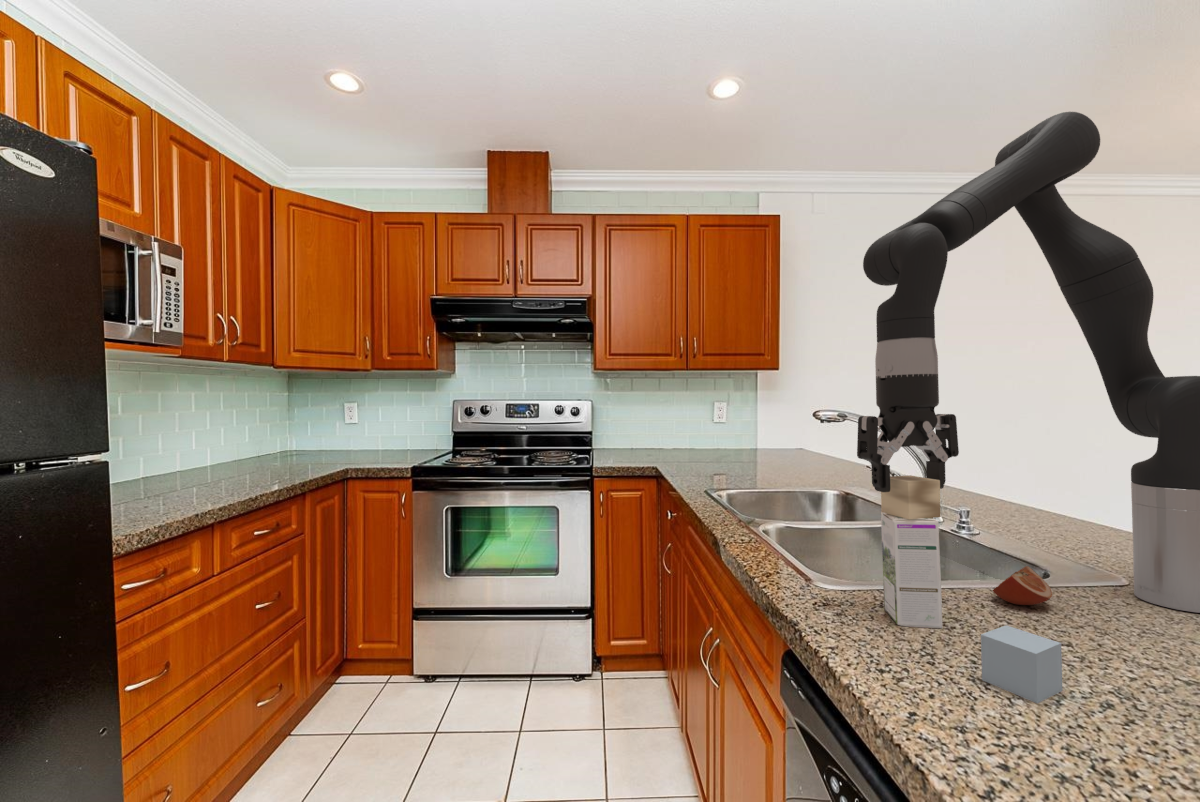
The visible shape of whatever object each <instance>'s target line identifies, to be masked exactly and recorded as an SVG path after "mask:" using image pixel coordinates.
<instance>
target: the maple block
mask: <svg viewBox="0 0 1200 802" xmlns="http://www.w3.org/2000/svg"><path fill="white" fill-rule="evenodd" d="M880 499H881V500H880V505H881V507H880V509H881V510H880V511H881V512H884V513H887V514H891V515H895V516H898V517H902V518H906V519H921V518H933V519H936V518H941V517H942V516H941V515H942V514H941V513H942V511H941V510H942V509H941V489H940V480H936V479H929V478H927V477H924V476H917V475H916V476H915V475H911V474H909V475H896V476H895V475H894V476H893V475H892V476H891V475H890V492H880Z"/></svg>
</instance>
